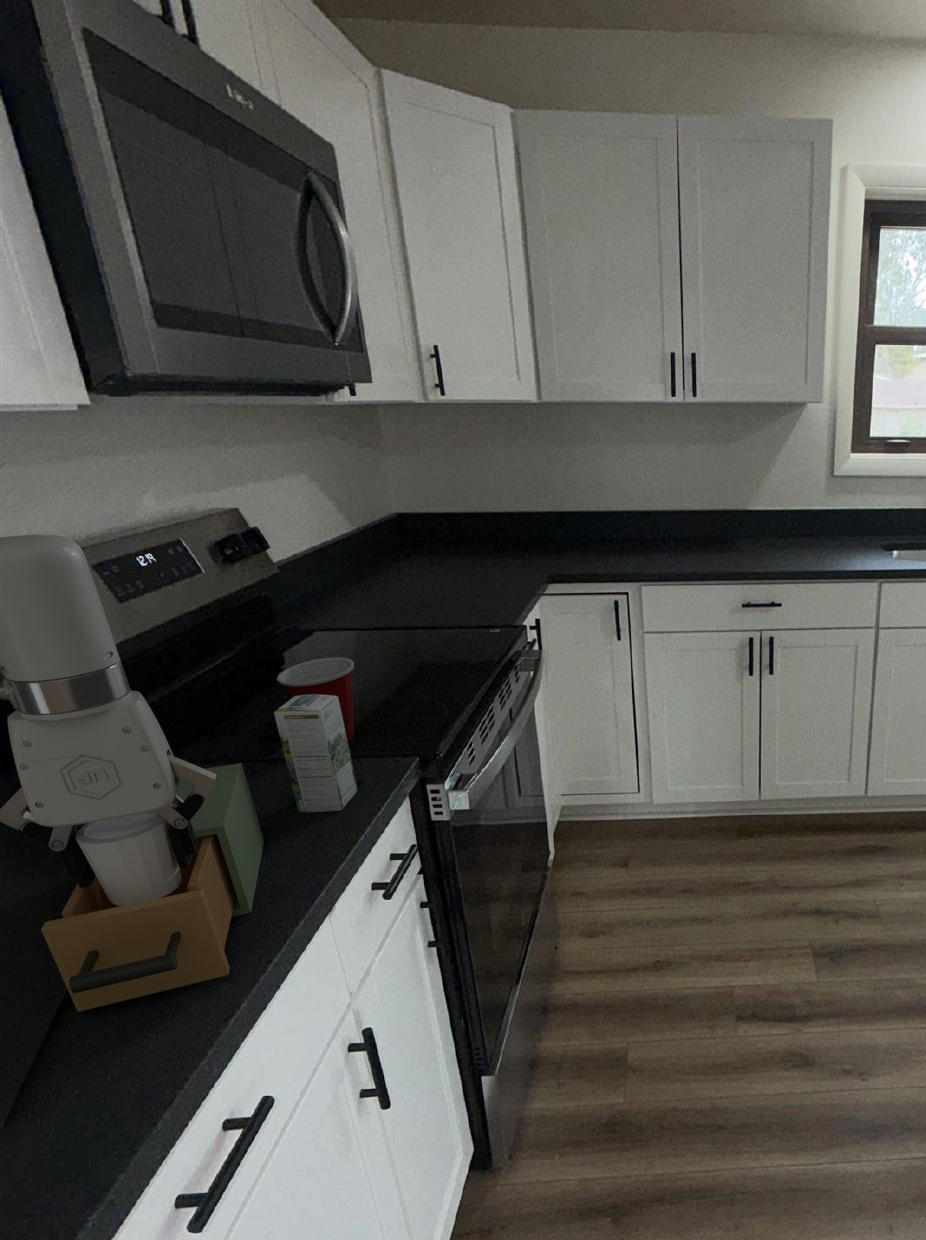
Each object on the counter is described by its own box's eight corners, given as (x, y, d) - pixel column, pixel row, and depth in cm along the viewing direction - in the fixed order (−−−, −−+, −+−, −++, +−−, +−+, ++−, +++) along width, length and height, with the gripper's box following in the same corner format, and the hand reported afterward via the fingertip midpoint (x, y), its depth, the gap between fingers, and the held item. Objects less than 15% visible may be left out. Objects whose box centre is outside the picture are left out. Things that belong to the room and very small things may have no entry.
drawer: (221, 1009, 70) (192, 926, 66) (60, 1050, 66) (20, 964, 62) (245, 889, 87) (223, 818, 83) (119, 916, 82) (90, 843, 79)
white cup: (136, 916, 71) (110, 848, 68) (82, 902, 73) (55, 835, 70) (207, 875, 77) (186, 811, 74) (155, 863, 79) (133, 800, 76)
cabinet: (251, 913, 84) (223, 825, 80) (106, 945, 80) (69, 853, 75) (264, 840, 98) (241, 762, 94) (141, 864, 93) (111, 783, 89)
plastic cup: (280, 743, 126) (261, 670, 121) (345, 721, 134) (330, 653, 129) (317, 759, 120) (299, 683, 116) (383, 735, 129) (368, 664, 124)
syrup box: (316, 793, 110) (291, 694, 104) (360, 792, 110) (337, 693, 104) (298, 813, 105) (270, 710, 99) (344, 811, 105) (319, 708, 99)
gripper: (-84, 720, 60) (7, 916, 68) (187, 687, 67) (243, 868, 74) (-43, 690, 67) (35, 872, 74) (200, 662, 73) (251, 831, 80)
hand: (139, 869), depth 74 cm, fingers closed on white cup, 6 cm apart
